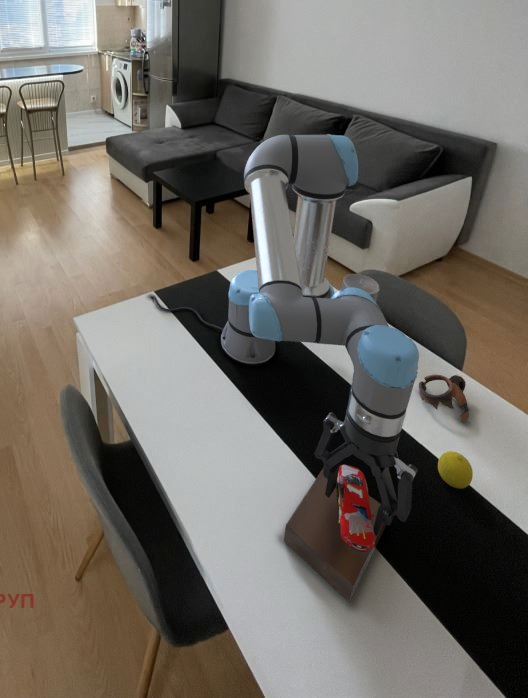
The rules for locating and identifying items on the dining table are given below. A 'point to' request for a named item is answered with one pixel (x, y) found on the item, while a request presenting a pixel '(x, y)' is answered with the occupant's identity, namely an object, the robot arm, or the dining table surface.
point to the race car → (354, 509)
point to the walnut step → (327, 539)
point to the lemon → (455, 469)
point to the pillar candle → (361, 284)
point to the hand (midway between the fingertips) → (353, 508)
